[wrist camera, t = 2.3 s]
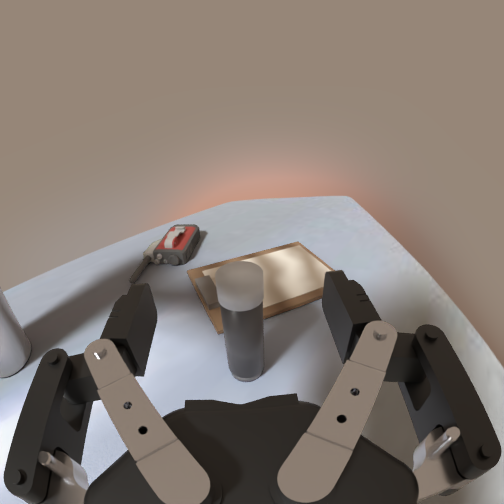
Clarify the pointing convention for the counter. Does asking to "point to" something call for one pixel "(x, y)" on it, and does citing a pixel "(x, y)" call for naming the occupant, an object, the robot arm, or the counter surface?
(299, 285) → the clipboard
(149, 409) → the robot arm
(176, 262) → the walkie-talkie
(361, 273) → the counter surface
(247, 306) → the bottle
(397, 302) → the counter surface
